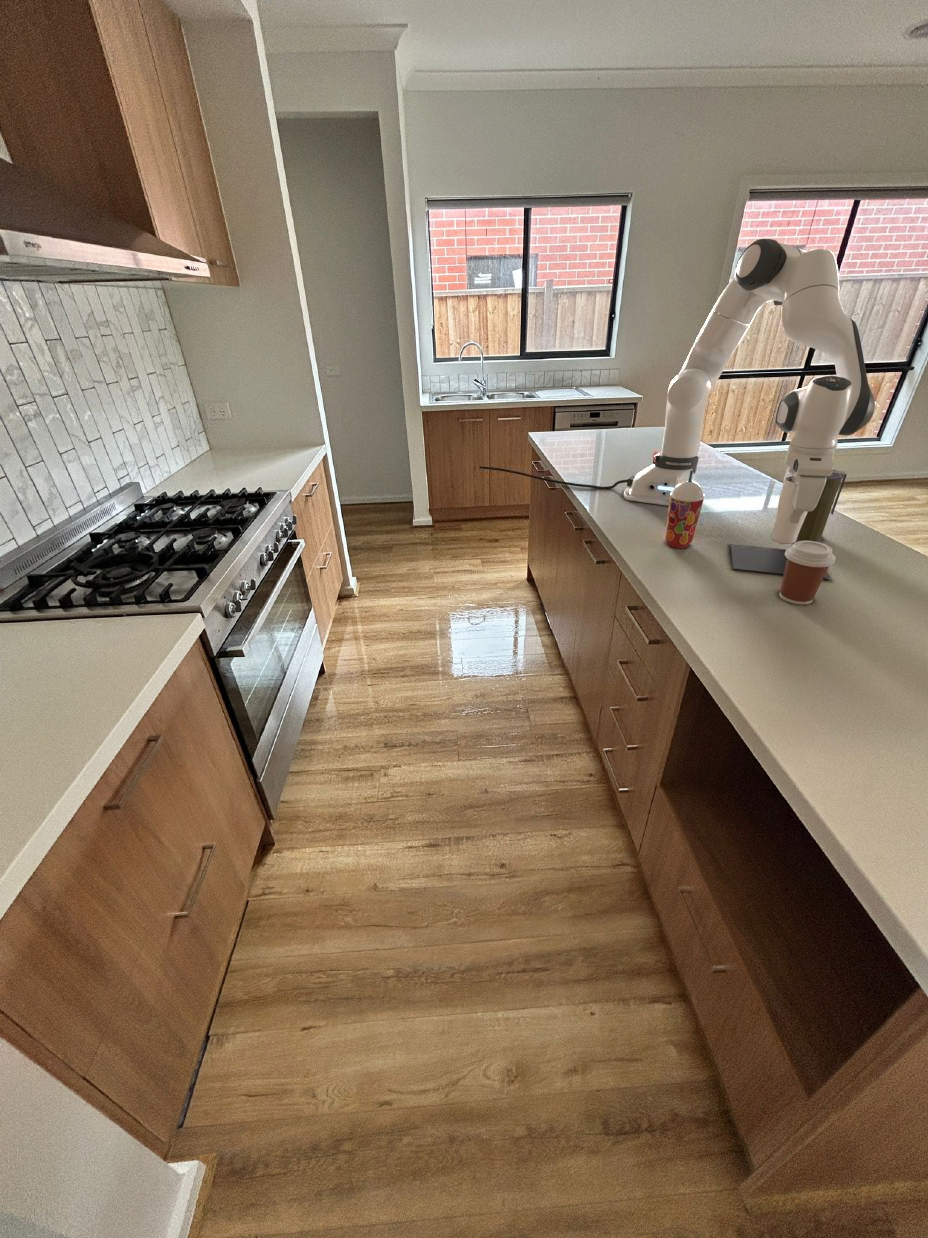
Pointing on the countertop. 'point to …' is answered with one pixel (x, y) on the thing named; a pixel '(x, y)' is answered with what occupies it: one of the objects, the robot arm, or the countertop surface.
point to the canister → (822, 509)
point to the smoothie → (683, 513)
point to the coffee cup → (805, 570)
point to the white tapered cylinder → (786, 516)
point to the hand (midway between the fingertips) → (791, 516)
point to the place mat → (759, 559)
